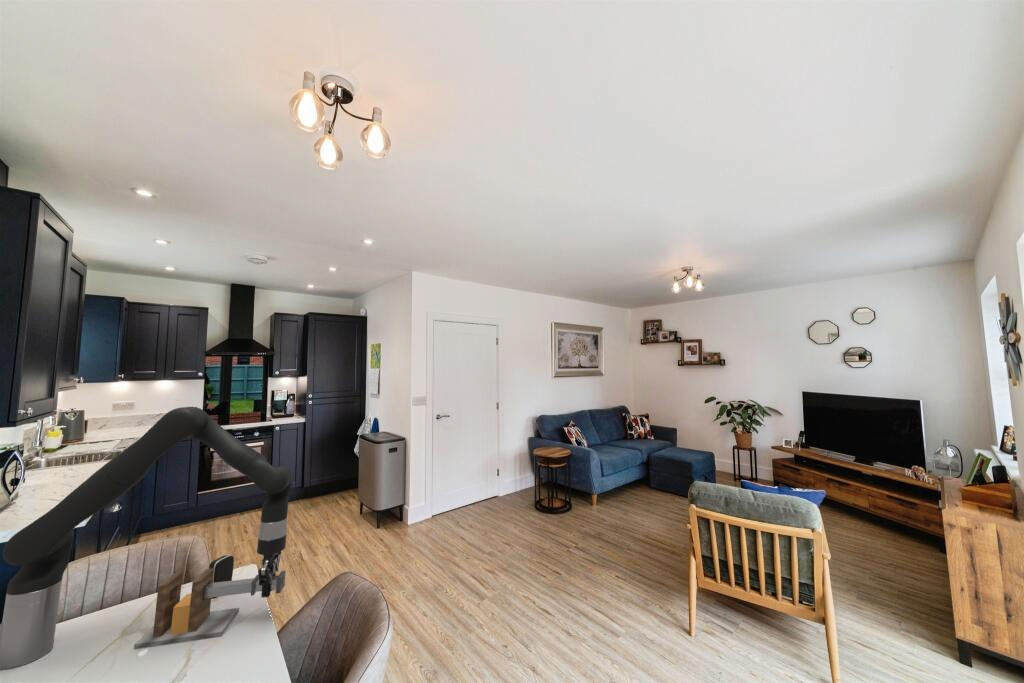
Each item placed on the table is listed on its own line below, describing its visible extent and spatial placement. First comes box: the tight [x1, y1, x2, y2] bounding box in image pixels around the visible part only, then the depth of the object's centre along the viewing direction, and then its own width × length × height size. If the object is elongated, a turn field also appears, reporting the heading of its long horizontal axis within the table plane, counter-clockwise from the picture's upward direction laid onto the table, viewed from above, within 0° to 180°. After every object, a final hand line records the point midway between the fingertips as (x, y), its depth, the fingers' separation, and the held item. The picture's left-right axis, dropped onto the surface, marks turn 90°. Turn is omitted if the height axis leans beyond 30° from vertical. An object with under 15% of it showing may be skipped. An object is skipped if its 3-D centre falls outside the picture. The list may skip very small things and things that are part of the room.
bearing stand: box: [133, 568, 240, 650], centre depth 110 cm, size 20×12×14 cm, turn 106°
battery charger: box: [208, 554, 235, 599], centre depth 129 cm, size 7×4×11 cm, turn 171°
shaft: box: [202, 570, 286, 599], centre depth 114 cm, size 21×4×4 cm, turn 106°
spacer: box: [171, 593, 191, 634], centre depth 110 cm, size 4×7×7 cm, turn 17°
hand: (267, 593), depth 116 cm, fingers closed on shaft, 3 cm apart
